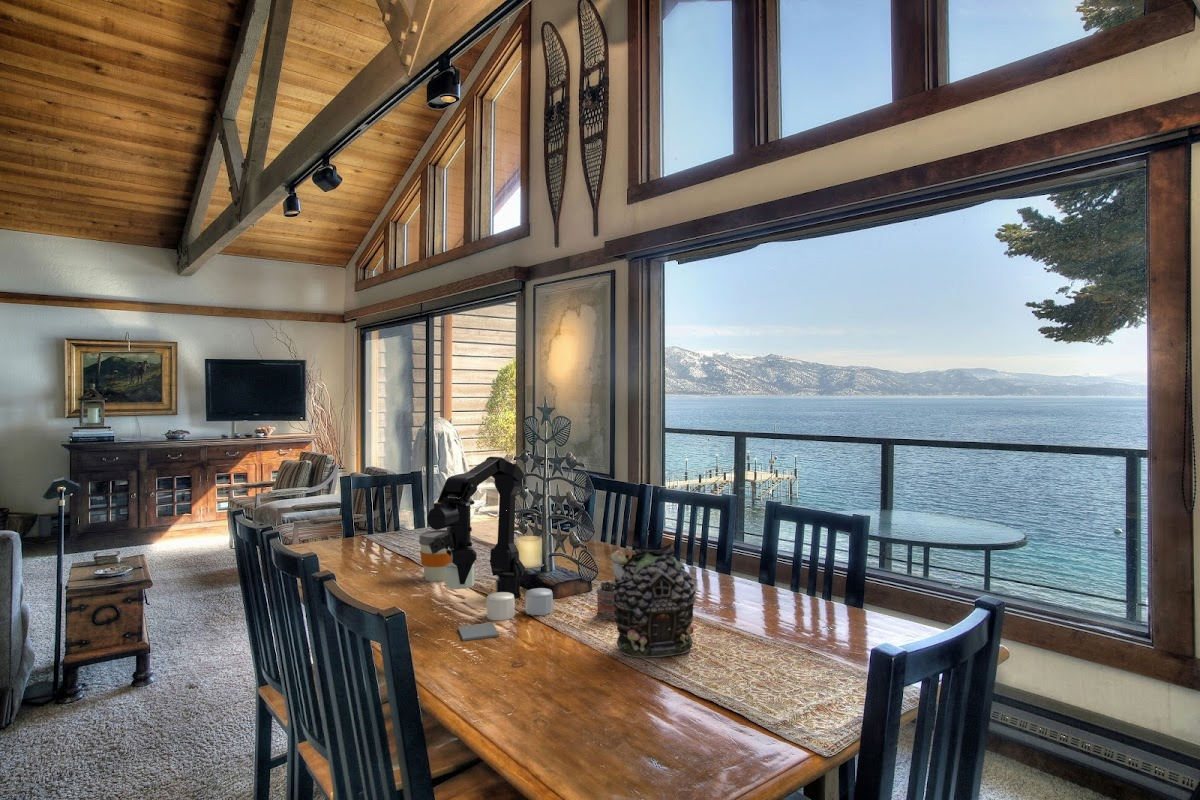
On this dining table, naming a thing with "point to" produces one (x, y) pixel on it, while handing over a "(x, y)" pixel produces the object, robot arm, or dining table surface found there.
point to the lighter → (605, 600)
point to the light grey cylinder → (539, 601)
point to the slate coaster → (478, 631)
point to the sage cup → (453, 577)
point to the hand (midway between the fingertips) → (460, 580)
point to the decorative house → (652, 603)
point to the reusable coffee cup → (433, 558)
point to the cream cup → (500, 606)
